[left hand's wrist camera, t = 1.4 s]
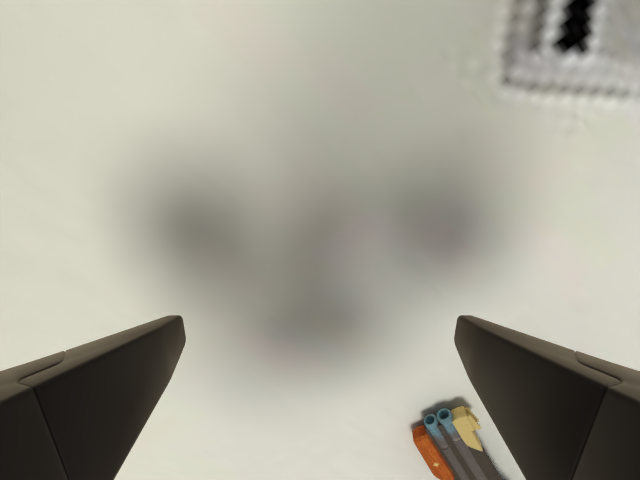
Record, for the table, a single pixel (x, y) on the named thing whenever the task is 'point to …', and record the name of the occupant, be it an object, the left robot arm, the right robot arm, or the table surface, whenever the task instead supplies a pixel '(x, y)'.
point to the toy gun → (454, 446)
